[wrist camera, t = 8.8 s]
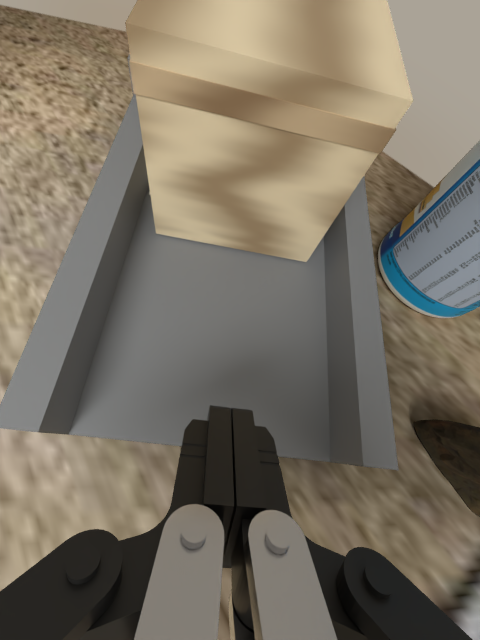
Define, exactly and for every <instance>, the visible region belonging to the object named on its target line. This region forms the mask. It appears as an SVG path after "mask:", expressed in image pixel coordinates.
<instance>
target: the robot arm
mask: <svg viewBox="0 0 480 640" xmlns="http://www.w3.org/2000/svg"><path fill="white" fill-rule="evenodd" d="M222 568H232V590H231V593H230V597H229V603H228V610H229V624H230V639H231V640H472V639H471V638H470V637H469V636H468V635H467V634H466V633H465V632H464V631H463V630H462V629H461V628H460V627H459V626H457V625H456V624H455V623H454V622H453V621H452V620H451V619H450V618H449V617H448V616H447V615H446V614H445V613H444V612H443V611H442V610H440V609H439V608H438V607H437V606H436V605H435V604H434V603H433V602H432V601H431V600H430V599H429V598H428V597H427V596H426V595H425V594H423V593H422V592H421V591H420V590H419V589H418V588H417V587H416V586H415V585H414V584H413V583H412V582H411V581H410V580H409V579H408V578H406V577H405V576H404V575H403V574H402V573H401V572H400V571H399V570H398V569H397V568H396V567H395V566H394V565H393V564H392V563H391V562H389V561H388V560H387V559H386V558H385V557H384V556H382V555H381V554H379V553H378V552H376V551H374V550H371V549H369V548H364V547H357V548H354V549H352V550H350V551H349V552H348V553H347V555H346V557H345V556H342V555H340V554H338V553H335V552H333V551H331V550H328V549H326V548H324V547H321V546H319V545H317V544H315V543H314V542H312V541H311V540H309V539H308V538H307V537H306V536H305V535H304V533H303V532H302V530H301V528H300V527H299V525H298V524H297V523H296V522H295V521H294V520H293V518H292V516H291V513H290V509H289V505H288V500H287V496H286V491H285V487H284V482H283V477H282V473H281V468H280V466H279V459H278V455H277V450H276V446H275V441H274V438H273V437H272V435H271V434H270V432H269V431H268V429H267V428H266V427H262V426H255V424H254V417H253V411H252V410H247V409H239V408H229V407H221V406H212V405H210V407H209V412H208V418H207V420H197V419H192V421H191V422H190V423H189V424H188V426H187V427H186V428H185V430H184V436H183V441H182V447H181V452H180V458H179V464H178V469H177V475H176V481H175V486H174V492H173V497H172V503H171V507H170V509H169V511H168V513H167V515H166V516H165V518H164V519H163V520H162V521H161V522H160V523H159V524H158V525H157V526H156V527H155V528H153V529H152V530H150V531H148V532H146V533H144V534H141V535H138V536H135V537H131V538H128V539H124V540H121V541H118V539H117V538H116V537H115V536H114V535H113V534H111V533H110V532H108V531H105V530H99V529H94V530H87V531H84V532H81V533H78V534H76V535H74V536H72V537H71V538H69V539H68V540H66V541H65V542H64V543H62V544H61V545H60V546H59V547H57V548H56V549H55V550H53V551H52V552H51V553H50V554H48V555H47V556H46V557H44V558H43V559H42V560H40V561H39V562H38V563H37V564H35V565H34V566H33V567H31V568H30V569H29V570H28V571H26V572H25V573H24V574H22V575H21V576H20V577H18V578H17V579H16V580H15V581H13V582H12V583H11V584H9V585H8V586H7V587H6V588H4V589H3V590H2V591H0V640H217V639H218V624H219V609H220V594H221V579H222Z"/></svg>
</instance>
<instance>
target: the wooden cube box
mask: <svg viewBox="0 0 480 640" xmlns="http://www.w3.org/2000/svg"><path fill="white" fill-rule="evenodd" d="M125 24H126V31H127V38H128V45H129V52H130V61H129V65H130V71H131V78H132V85H133V91H134V94H136V100H137V107H138V113H139V120H140V127H141V134H142V141H143V148H144V155H145V161H146V168H147V175H148V182H149V189H150V196H151V203H152V209H153V216H154V223H155V230H156V234H161V235H166V236H172V237H177V238H182V239H187V240H193V241H198V242H203V243H208V244H214V245H219V246H224V247H229V248H235V249H240V250H245V251H250V252H256V253H261V254H266V255H271V256H277V257H282V258H287V259H292V260H298V261H303V262H307V261H308V259H309V258H310V256H311V255H312V253H313V252H314V250H315V248H316V247H317V245H318V244H319V242H320V241H321V239H322V238H323V236H324V235H325V233H326V232H327V230H328V229H329V227H330V226H331V224H332V223H333V221H334V220H335V218H336V217H337V215H338V214H339V212H340V211H341V209H342V208H343V206H344V205H345V203H346V202H347V200H348V199H349V197H350V196H351V194H352V193H353V191H354V190H355V188H356V187H357V185H358V184H359V182H360V181H361V179H362V178H363V176H364V175H365V173H366V172H367V170H368V169H369V167H370V166H371V164H372V163H373V161H374V160H375V158H376V157H377V155H378V154H380V153H381V152H382V151H383V149H384V148H385V146H386V144H387V143H388V142H389V140H390V138H391V137H392V135H393V134H394V133H395V131H396V126H397V125H398V123H399V122H400V120H401V119H402V117H403V116H404V114H405V113H406V111H407V110H408V108H409V107H410V105H411V104H412V102H413V98H412V94H411V90H410V86H409V82H408V78H407V75H406V71H405V67H404V63H403V59H402V55H401V51H400V47H399V44H398V40H397V36H396V32H395V28H394V24H393V20H392V16H391V12H390V9H389V5H388V1H386V0H137V2H136V4H135V6H134V8H133V10H132V11H131V13H130V15H129V17H128V19H127V20H126V22H125Z"/></svg>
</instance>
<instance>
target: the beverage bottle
mask: <svg viewBox="0 0 480 640" xmlns="http://www.w3.org/2000/svg"><path fill="white" fill-rule="evenodd" d="M378 264H379V269H380V272H381V274H382V277H383V279H384V281H385V283H386V284H387V286H388V287H389V289H390V290H391V291H392V292H393V293H394V295H395V296H396V297H397V298H398V299H400V300H401V301H402V302H403V303H404V304H406V305H407V306H409V307H410V308H412V309H413V310H415V311H417V312H419V313H422V314H424V315H427V316H431V317H436V318H453V317H457V316H461V315H463V314H465V313H467V312H470V311H472V310H474V309H476V308H477V307H479V306H480V141H479V142H478V143H477V144H476V145H475V146H474V147H473V148H472V149H471V150H470V151H469V152H468V153H467V154H466V155H465V156H464V157H463V158H462V159H461V160H460V162H459V163H458V164H457V165H456V166H455V167H454V168H453V169H452V170H451V171H450V172H449V173H448V174H447V175H446V176H445V177H444V178H443V179H442V180H441V181H440V182H439V184H438V185H436V187H435V188H434V189H433V190H432V191H431V192H430V193H429V194H428V195H427V196H426V197H425V198H424V199H423V200H422V201H421V202H420V203H419V204H418V205H417V206H416V207H415V208H414V209H413V210H412V211H411V212H410V213H409V214H408V215H407V216H406V217H405V218H404V219H403V220H402V221H401V222H399V223H398V224H397V225H396V226H395V227H394V228H392V229H391V231H390V232H389V233H388V234H387V235H386V236H385V237H384V239H383V240H382V242H381V244H380V247H379V251H378Z"/></svg>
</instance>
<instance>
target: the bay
mask: <svg viewBox="0 0 480 640" xmlns="http://www.w3.org/2000/svg"><path fill="white" fill-rule="evenodd" d="M129 61H130V54H129V56H128V65H129ZM129 71H130V65H129ZM130 78H131V71H130ZM131 84H132V78H131ZM132 91H133V85H132ZM210 405H212V406H221V407H229V408H239V409H247V410H252V411H253V417H254V424H255V426H262V427H266V428H267V429H268V431H269V432H270V434H271V435H272V437H273V438H274V441H275V446H276V450H277V455H278V457H288V458H297V459H306V460H316V461H325V462H334V463H341V464H349V465H356V466H364V467H374V468H383V469H393V470H398V462H397V453H396V445H395V436H394V428H393V419H392V410H391V402H390V393H389V385H388V376H387V368H386V359H385V350H384V342H383V333H382V325H381V316H380V308H379V299H378V290H377V282H376V273H375V265H374V256H373V248H372V239H371V231H370V222H369V213H368V205H367V196H366V188H365V179H364V176H363V178H362V179H361V181H360V182H359V184H358V185H357V187H356V188H355V190H354V191H353V193H352V194H351V196H350V197H349V199H348V200H347V202H346V203H345V205H344V206H343V208H342V209H341V211H340V212H339V214H338V215H337V217H336V218H335V220H334V221H333V223H332V224H331V226H330V227H329V229H328V230H327V232H326V233H325V235H324V236H323V238H322V239H321V241H320V242H319V244H318V245H317V247H316V248H315V250H314V252H313V253H312V255H311V256H310V258H309V259H308V261H307V262H303V261H298V260H292V259H287V258H282V257H277V256H271V255H266V254H261V253H256V252H250V251H245V250H240V249H235V248H229V247H224V246H219V245H214V244H208V243H203V242H198V241H193V240H187V239H182V238H177V237H172V236H166V235H161V234H156V230H155V223H154V216H153V209H152V203H151V196H150V189H149V182H148V175H147V168H146V161H145V155H144V148H143V141H142V134H141V127H140V120H139V113H138V107H137V100H136V94H134V91H133V98H132V100H131V102H130V105H129V107H128V109H127V112H126V114H125V116H124V118H123V121H122V123H121V125H120V128H119V130H118V132H117V135H116V137H115V139H114V142H113V144H112V146H111V149H110V151H109V153H108V156H107V158H106V160H105V163H104V165H103V167H102V170H101V172H100V174H99V177H98V179H97V181H96V184H95V186H94V188H93V191H92V193H91V195H90V198H89V200H88V202H87V204H86V207H85V209H84V211H83V214H82V216H81V218H80V221H79V223H78V225H77V228H76V230H75V232H74V235H73V237H72V239H71V242H70V244H69V246H68V249H67V251H66V253H65V256H64V258H63V260H62V263H61V265H60V267H59V270H58V272H57V274H56V277H55V279H54V281H53V283H52V286H51V288H50V290H49V293H48V295H47V297H46V300H45V302H44V304H43V307H42V309H41V311H40V314H39V316H38V318H37V321H36V323H35V325H34V328H33V330H32V332H31V335H30V337H29V339H28V342H27V344H26V346H25V349H24V351H23V353H22V356H21V358H20V360H19V363H18V365H17V367H16V369H15V372H14V374H13V376H12V379H11V381H10V383H9V386H8V388H7V390H6V393H5V395H4V397H3V400H2V402H1V404H0V428H3V429H12V430H22V431H31V432H42V433H56V434H70V435H79V436H89V437H98V438H108V439H117V440H127V441H136V442H146V443H155V444H165V445H174V446H182V441H183V436H184V430H185V428H186V427H187V426H188V424H189V423H190V422H191V421H192V419H197V420H207V418H208V412H209V407H210Z"/></svg>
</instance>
